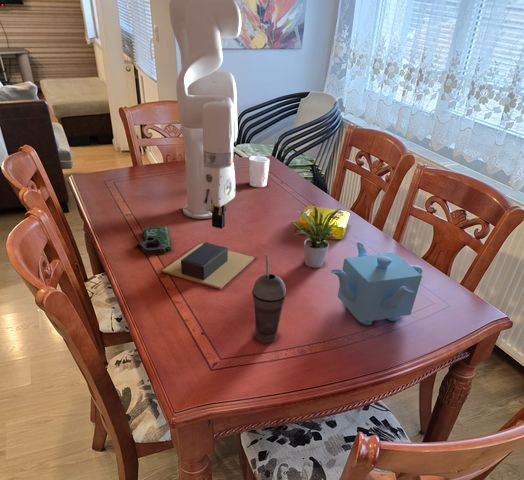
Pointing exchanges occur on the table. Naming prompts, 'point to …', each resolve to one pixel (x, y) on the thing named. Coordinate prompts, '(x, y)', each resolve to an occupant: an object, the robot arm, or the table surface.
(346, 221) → the yellow package
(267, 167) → the white cup
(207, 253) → the black device
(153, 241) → the gun
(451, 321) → the table surface
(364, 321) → the teakettle
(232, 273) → the cork mat
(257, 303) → the beverage cup
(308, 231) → the house plant
